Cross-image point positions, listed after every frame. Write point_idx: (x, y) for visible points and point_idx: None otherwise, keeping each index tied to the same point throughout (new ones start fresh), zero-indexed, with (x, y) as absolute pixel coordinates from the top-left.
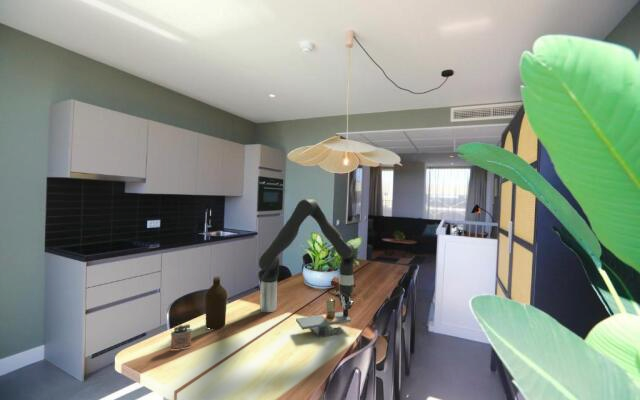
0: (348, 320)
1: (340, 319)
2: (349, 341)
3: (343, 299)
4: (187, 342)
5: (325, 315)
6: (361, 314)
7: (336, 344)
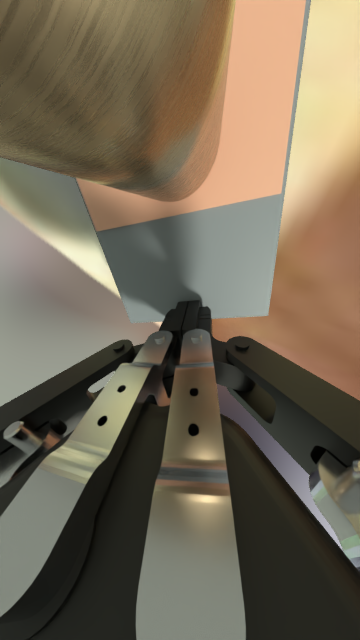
0: (126, 303)
1: (128, 250)
2: (67, 252)
3: (108, 453)
4: None
5: (243, 50)
6: None
7: (19, 165)
